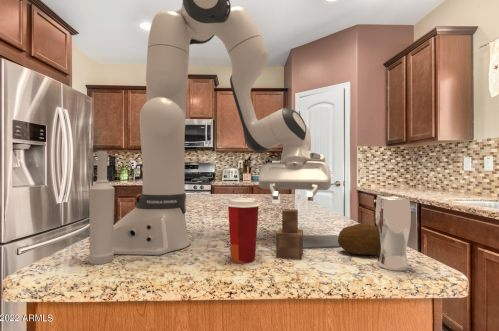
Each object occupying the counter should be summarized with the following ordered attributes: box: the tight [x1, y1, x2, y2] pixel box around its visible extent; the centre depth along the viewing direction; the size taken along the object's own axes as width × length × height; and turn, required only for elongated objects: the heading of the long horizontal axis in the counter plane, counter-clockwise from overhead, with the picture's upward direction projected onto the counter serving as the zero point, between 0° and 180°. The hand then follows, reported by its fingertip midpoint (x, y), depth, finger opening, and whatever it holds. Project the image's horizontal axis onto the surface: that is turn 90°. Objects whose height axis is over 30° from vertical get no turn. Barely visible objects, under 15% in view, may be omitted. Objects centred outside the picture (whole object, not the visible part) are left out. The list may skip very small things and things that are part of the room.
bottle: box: [88, 150, 116, 265], centre depth 66 cm, size 5×5×25 cm
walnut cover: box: [275, 208, 304, 260], centre depth 72 cm, size 6×6×11 cm
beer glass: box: [375, 195, 412, 272], centre depth 64 cm, size 7×7×15 cm
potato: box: [337, 222, 380, 256], centre depth 73 cm, size 8×12×8 cm, turn 84°
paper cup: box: [226, 197, 261, 264], centre depth 68 cm, size 8×8×14 cm
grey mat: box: [303, 234, 342, 250], centre depth 85 cm, size 16×12×1 cm
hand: (292, 198), depth 78 cm, fingers open, 8 cm apart
